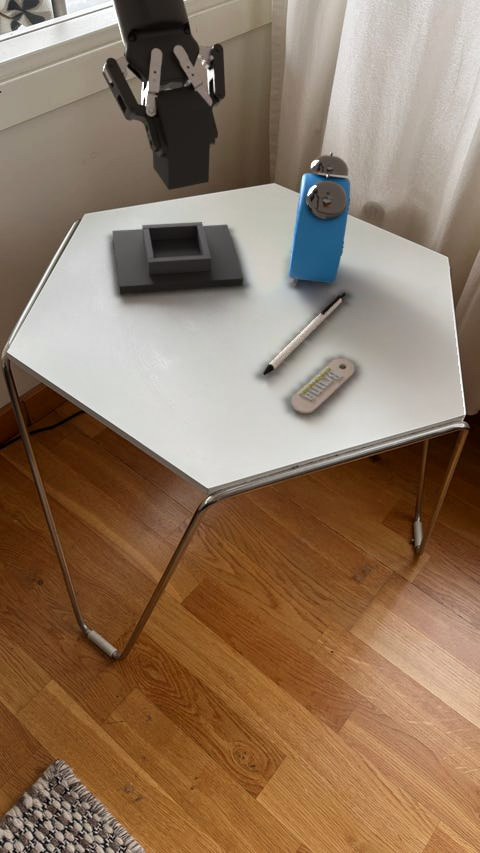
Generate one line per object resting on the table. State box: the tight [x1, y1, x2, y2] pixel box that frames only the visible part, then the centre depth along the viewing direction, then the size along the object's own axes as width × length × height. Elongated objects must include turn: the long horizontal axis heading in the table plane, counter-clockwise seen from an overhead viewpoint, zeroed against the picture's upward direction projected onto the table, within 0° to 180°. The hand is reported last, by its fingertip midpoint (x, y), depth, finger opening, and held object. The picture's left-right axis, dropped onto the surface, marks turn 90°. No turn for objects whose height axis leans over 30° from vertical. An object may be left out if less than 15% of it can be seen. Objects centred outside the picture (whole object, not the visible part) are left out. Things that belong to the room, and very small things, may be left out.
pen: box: [262, 292, 347, 377], centre depth 88 cm, size 1×19×1 cm, turn 144°
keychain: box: [290, 357, 355, 414], centre depth 82 cm, size 10×1×3 cm
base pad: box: [112, 221, 244, 295], centre depth 94 cm, size 16×12×3 cm
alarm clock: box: [288, 152, 351, 286], centre depth 90 cm, size 13×6×15 cm, turn 173°
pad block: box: [152, 87, 211, 191], centre depth 80 cm, size 5×5×9 cm
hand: (187, 149), depth 79 cm, fingers closed on pad block, 5 cm apart
